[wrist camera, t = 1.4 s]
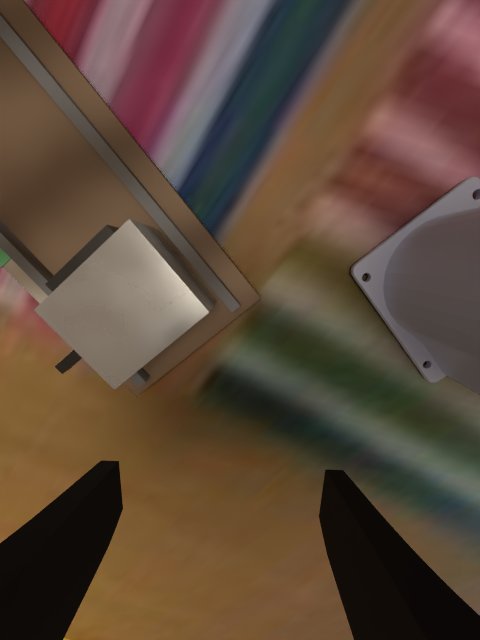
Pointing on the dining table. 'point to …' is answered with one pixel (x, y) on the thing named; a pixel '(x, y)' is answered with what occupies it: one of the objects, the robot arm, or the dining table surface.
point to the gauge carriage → (123, 301)
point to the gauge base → (88, 184)
